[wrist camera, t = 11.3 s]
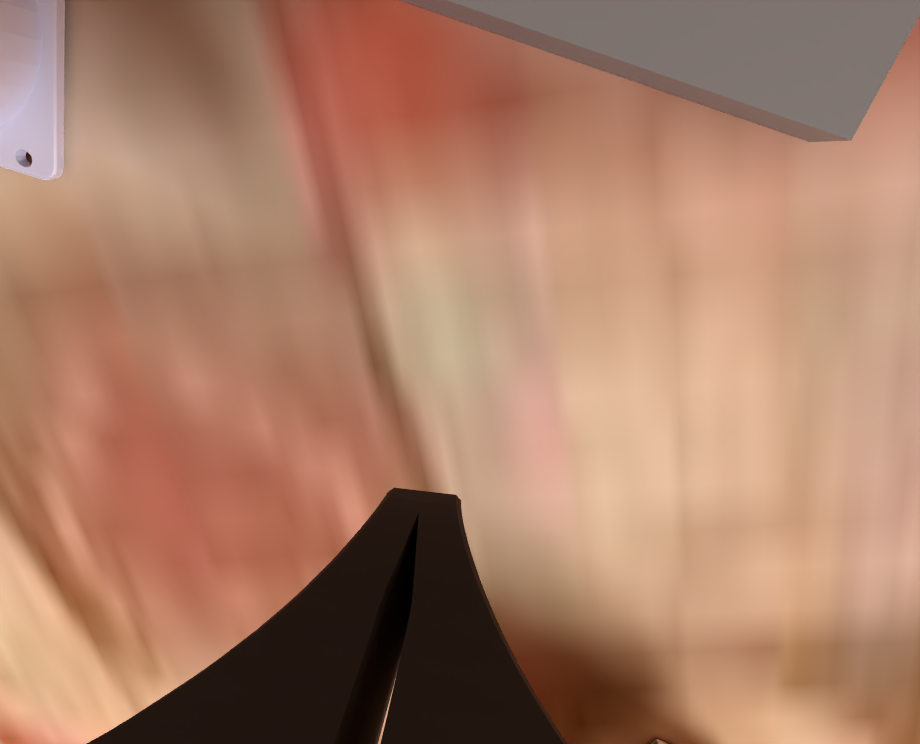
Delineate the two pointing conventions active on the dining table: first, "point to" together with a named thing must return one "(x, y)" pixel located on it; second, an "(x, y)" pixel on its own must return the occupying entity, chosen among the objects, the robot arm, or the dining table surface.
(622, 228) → the dining table surface
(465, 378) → the dining table surface
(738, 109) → the control panel
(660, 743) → the syrup box
